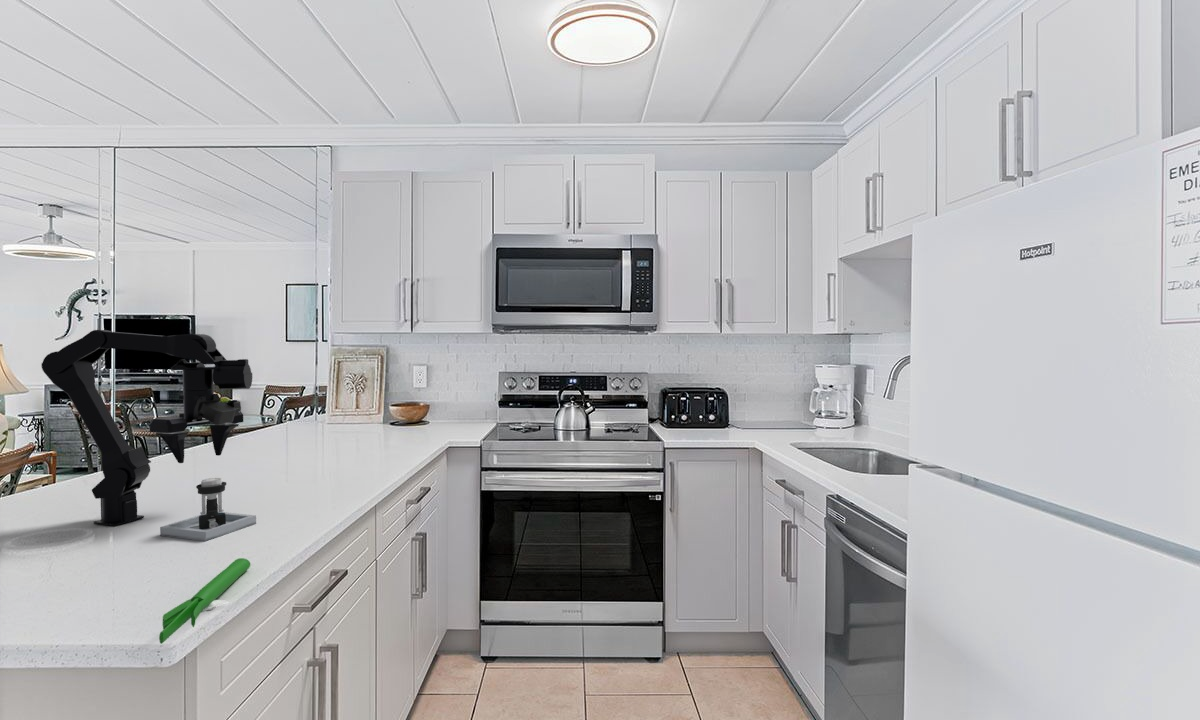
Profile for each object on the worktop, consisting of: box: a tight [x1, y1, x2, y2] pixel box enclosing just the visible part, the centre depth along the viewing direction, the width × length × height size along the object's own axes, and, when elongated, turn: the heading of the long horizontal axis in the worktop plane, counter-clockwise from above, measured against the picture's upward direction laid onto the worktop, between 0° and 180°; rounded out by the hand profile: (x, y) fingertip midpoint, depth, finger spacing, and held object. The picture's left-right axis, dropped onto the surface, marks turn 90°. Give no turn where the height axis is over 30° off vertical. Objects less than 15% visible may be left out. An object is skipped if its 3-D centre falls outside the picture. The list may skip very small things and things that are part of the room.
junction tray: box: [159, 511, 257, 542], centre depth 127 cm, size 12×12×2 cm
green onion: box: [158, 557, 251, 644], centre depth 90 cm, size 5×3×30 cm
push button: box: [189, 477, 227, 530], centre depth 127 cm, size 7×5×10 cm
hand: (200, 459), depth 137 cm, fingers open, 9 cm apart
